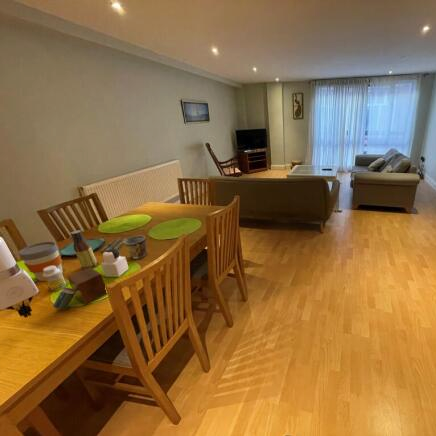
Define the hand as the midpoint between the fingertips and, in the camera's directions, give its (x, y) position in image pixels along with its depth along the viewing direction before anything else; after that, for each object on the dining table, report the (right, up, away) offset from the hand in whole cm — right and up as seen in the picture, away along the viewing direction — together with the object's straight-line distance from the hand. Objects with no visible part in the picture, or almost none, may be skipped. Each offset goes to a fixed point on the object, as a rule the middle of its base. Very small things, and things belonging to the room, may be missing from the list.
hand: (27, 314), depth 86 cm
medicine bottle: (+9, +8, +32) cm, 34 cm away
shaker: (+5, +3, +9) cm, 11 cm away
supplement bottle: (-10, +4, +21) cm, 24 cm away
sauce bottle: (-8, +10, +37) cm, 39 cm away
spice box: (+9, +2, +17) cm, 19 cm away
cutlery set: (-21, +17, +54) cm, 60 cm away
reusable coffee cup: (-22, +7, +30) cm, 38 cm away
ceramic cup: (+12, +13, +45) cm, 49 cm away
